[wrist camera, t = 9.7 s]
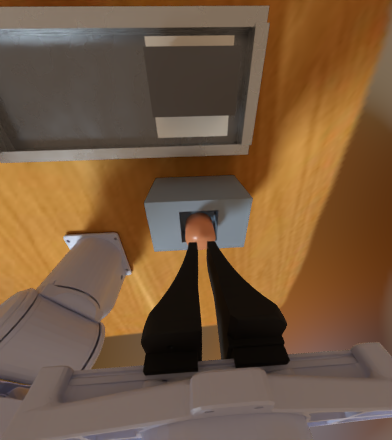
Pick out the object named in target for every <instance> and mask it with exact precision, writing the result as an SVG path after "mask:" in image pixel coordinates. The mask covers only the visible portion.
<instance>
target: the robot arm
mask: <svg viewBox="0 0 392 440" xmlns="http://www.w3.org/2000/svg"><path fill="white" fill-rule="evenodd" d="M116 238H117V239H116ZM63 239H64V240H65V242H66V244H67V245H68V247H69V249H70V251H69V252H68V253H67V254H66V255H65V257H64V258H63V259H62V260H61V261H60V262H59V264H58V265H57V266H56V267H55V268H54V269H53V270H52V272H51V273H50V274H49V275H48V276H47V277H46V279H45V280H44V281H43V282H42V283H41V284H40V285H39V287H38V288H37V289H36V290H35V289H33V288H30V289H27V290H24V291H20V292H17V293H16V294H14V295H13V296H11V297H10V298H8V299H7V300H6V301H5V302H3V303H2V304H1V305H0V379H4V380H9V381H14V382H19V383H24V384H29V386H26V385H21V384H16V383H11V382H6V381H0V440H313V437H312V434H311V432H310V429H309V427H314V426H321V425H330V424H337V423H345V422H353V421H361V420H369V419H370V420H371V419H379V418H390V417H392V357H391V355H390V354H389V353H388V352H387V351H386V350H385V348H384V347H383V346H382V345H381V344H380V343H379V342H371V343H360V344H356V345H354V346H353V347H352V348H351V349H350V350H342V351H327V352H314V353H301V354H287V352H286V349H285V347H284V345H283V344H284V340H283V337H282V334H283V332H284V330H285V329H286V326H287V323H286V320H285V318H284V316H283V314H282V313H281V311H280V309H279V308H278V306H277V305H276V304H275V303H273V302H272V301H270V300H269V299H267V298H266V297H264V296H263V295H262V294H260V293H259V292H258V291H257V290H255V289H254V288H253V287H252V286H251V285H250V284H249V283H247V282H246V281H245V280H244V279H243V278H242V277H241V276H240V275H239V274H238V273H237V272H236V270H235V269H234V268H233V267H232V266H231V265H230V263H229V262H228V261H227V259H226V258H225V257H224V255H223V254H222V252H221V251H220V249H219V248H218V246H217V244H216V242H215V241H207V267H208V273H209V278H210V282H211V287H212V291H213V295H214V301H215V309H216V317H217V325H218V333H219V342H220V351H221V360H209V361H202V327H201V315H200V304H199V293H198V246H197V242H189V243H188V249H187V253H186V256H185V258H184V261H183V264H182V266H181V268H180V270H179V272H178V274H177V276H176V278H175V280H174V281H173V283H172V284H171V286H170V288H169V289H168V291H167V292H166V293H165V295H164V296H163V297H162V299H161V300H160V301H159V303H158V304H157V305H156V306H155V307H154V309H153V310H152V311H151V312H150V313H149V316H148V318H147V320H146V323H145V326H144V329H143V334H142V339H141V344H142V347H143V349H144V351H145V353H146V356H145V362H144V365H143V366H131V367H117V368H103V369H92V370H91V368H92V366H93V365H94V363H95V362H96V360H97V358H98V356H99V354H100V351H101V349H102V346H103V342H104V337H105V327H104V325H103V323H101V322H100V321H101V319H103V318H104V317H105V316H106V315H107V314H108V313H109V312H110V311H111V310H112V308H113V307H114V305H115V302H116V299H117V297H118V294H119V292H120V289H121V286H122V284H123V281H124V278H125V276H126V275H131V273H132V271H131V269H130V266H129V263H128V260H127V257H126V255H125V252H124V249H123V246H122V244H121V241H120V238H119V235H118V234H117V233H115V232H111V233H91V234H70V235H65V236H64V237H63Z"/></svg>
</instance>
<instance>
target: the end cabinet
mask: <svg viewBox="0 0 392 440" xmlns="http://www.w3.org/2000/svg"><path fill="white" fill-rule="evenodd" d="M252 199H253V198H252V197H251V196H250V194H249V193H248V192H247V191H246V189H245V188H244V187H243V186H242V185H241V183H240V182H239V181H238V180H237V178H236V177H235V176H234V175H222V176H196V177H170V178H156V179H155V181H154V183H153V185H152V187H151V189H150V191H149V193H148V195H147V197H146V199H145V202H144V206H145V211H146V215H147V220H148V224H149V229H150V233H151V238H152V242H153V247H154V251H173V250H187V249H188V245H187V243H186V240H185V223H186V220H187V218H188V217H189V216H190V215H191V214H194V213H198V212H201V213H205V214H207V215H208V216H209V217H210V218H211V220H212V224H213V228H214V232H215V236H216V239H215V242H216V244H217V246H218V248H230V247H244V242H245V237H246V231H247V226H248V221H249V215H250V210H251V204H252ZM206 249H207V248H206Z"/></svg>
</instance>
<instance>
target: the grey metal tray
mask: <svg viewBox="0 0 392 440" xmlns="http://www.w3.org/2000/svg"><path fill="white" fill-rule="evenodd" d="M268 12H269V6H77V7H0V162H1V163H15V162H44V161H73V160H102V159H131V158H160V157H189V156H218V155H247V154H248V150H249V145H252V138H253V131H254V125H255V118H256V112H257V105H258V98H259V92H260V85H261V78H262V72H263V65H264V59H265V52H266V45H267V39H268V32H269V26H270V23H267V19H268ZM219 35H235V36H234V45H242V46H241V57H240V68H239V79H238V90H237V101H236V111H235V115H229V117H228V131H227V136H206V137H173V138H158V134H157V127H156V119H155V117H153V114H152V107H151V100H150V93H149V86H148V79H147V72H146V64H145V57H144V50H143V47H146V45H145V38H144V36H219Z"/></svg>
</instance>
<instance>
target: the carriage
mask: <svg viewBox="0 0 392 440" xmlns="http://www.w3.org/2000/svg"><path fill="white" fill-rule="evenodd" d="M234 36H235V35H219V36H144V38H145V45H146V47H143V50H144V57H145V64H146V72H147V79H148V86H149V93H150V100H151V107H152V114H153V117H155V119H156V127H157V134H158V138H173V137H206V136H227V131H228V117H229V115H235V111H236V101H237V90H238V79H239V68H240V57H241V46H242V45H234Z"/></svg>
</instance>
